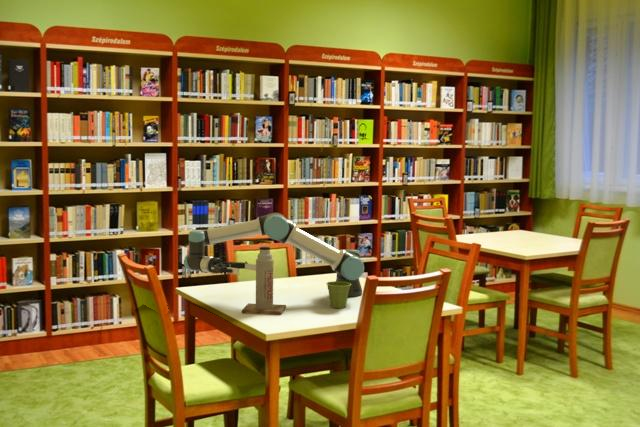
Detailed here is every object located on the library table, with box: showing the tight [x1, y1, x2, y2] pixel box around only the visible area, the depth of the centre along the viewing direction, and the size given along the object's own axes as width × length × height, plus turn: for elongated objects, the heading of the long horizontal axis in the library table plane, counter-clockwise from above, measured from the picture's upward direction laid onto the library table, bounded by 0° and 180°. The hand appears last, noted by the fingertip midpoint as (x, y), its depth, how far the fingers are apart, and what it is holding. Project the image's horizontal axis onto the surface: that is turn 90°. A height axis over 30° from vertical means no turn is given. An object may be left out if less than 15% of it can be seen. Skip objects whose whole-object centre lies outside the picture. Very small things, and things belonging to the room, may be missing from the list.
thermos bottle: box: [255, 246, 275, 309], centre depth 345 cm, size 8×8×28 cm
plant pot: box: [326, 280, 351, 309], centre depth 356 cm, size 12×12×11 cm
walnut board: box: [241, 302, 287, 316], centre depth 347 cm, size 18×14×2 cm
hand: (247, 269), depth 350 cm, fingers open, 13 cm apart
